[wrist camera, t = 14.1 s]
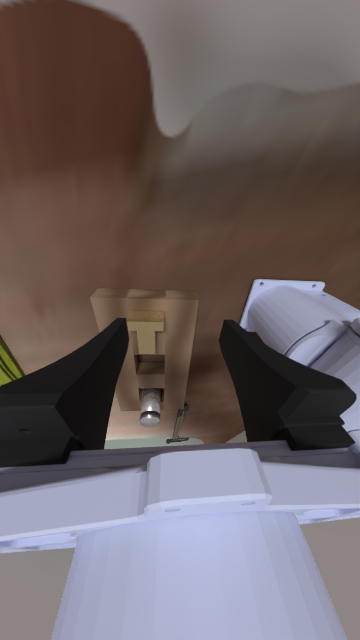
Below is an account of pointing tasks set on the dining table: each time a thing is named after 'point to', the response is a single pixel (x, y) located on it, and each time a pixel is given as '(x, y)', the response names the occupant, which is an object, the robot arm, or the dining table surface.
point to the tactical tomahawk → (178, 426)
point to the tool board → (168, 342)
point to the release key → (146, 328)
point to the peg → (150, 407)
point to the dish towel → (8, 365)
